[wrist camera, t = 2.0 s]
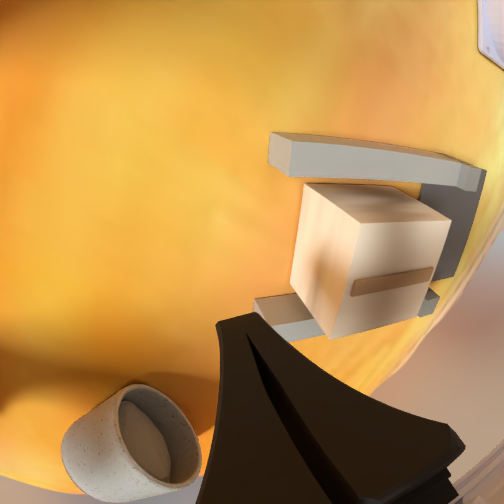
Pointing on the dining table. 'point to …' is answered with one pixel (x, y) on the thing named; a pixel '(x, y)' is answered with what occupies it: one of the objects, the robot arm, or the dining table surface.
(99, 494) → the ceramic mug
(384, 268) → the block
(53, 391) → the dining table surface
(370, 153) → the chute
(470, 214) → the mat
